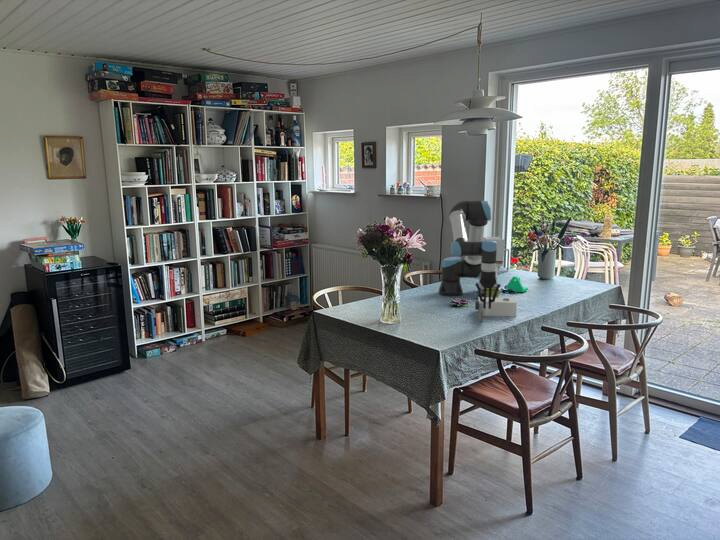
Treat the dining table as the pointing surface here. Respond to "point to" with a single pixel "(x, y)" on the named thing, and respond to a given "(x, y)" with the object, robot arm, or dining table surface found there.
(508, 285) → the camera mount
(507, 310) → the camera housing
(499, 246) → the display case
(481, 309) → the side door
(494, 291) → the plant pot
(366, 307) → the dining table surface
